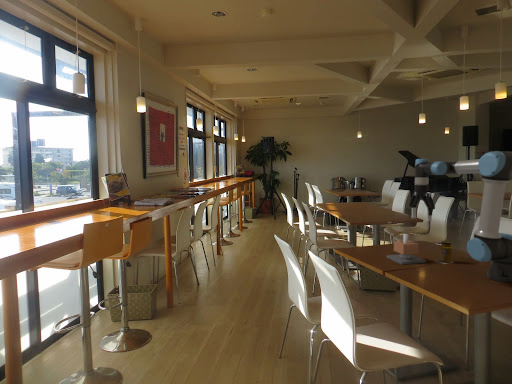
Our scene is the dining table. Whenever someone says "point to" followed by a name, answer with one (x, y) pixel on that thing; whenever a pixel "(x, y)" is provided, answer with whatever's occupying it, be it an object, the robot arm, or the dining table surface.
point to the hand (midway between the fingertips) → (421, 219)
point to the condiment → (445, 253)
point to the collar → (406, 247)
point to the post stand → (406, 255)
